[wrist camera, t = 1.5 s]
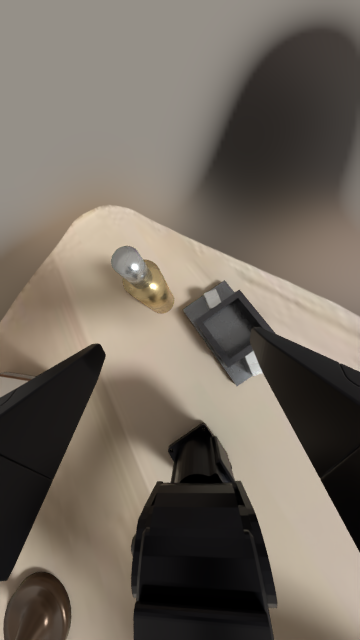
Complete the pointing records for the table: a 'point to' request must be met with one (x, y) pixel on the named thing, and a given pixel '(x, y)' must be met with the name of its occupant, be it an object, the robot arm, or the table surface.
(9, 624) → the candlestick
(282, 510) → the table surface
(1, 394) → the white banded pillar
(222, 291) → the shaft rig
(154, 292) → the gold perfume bottle
